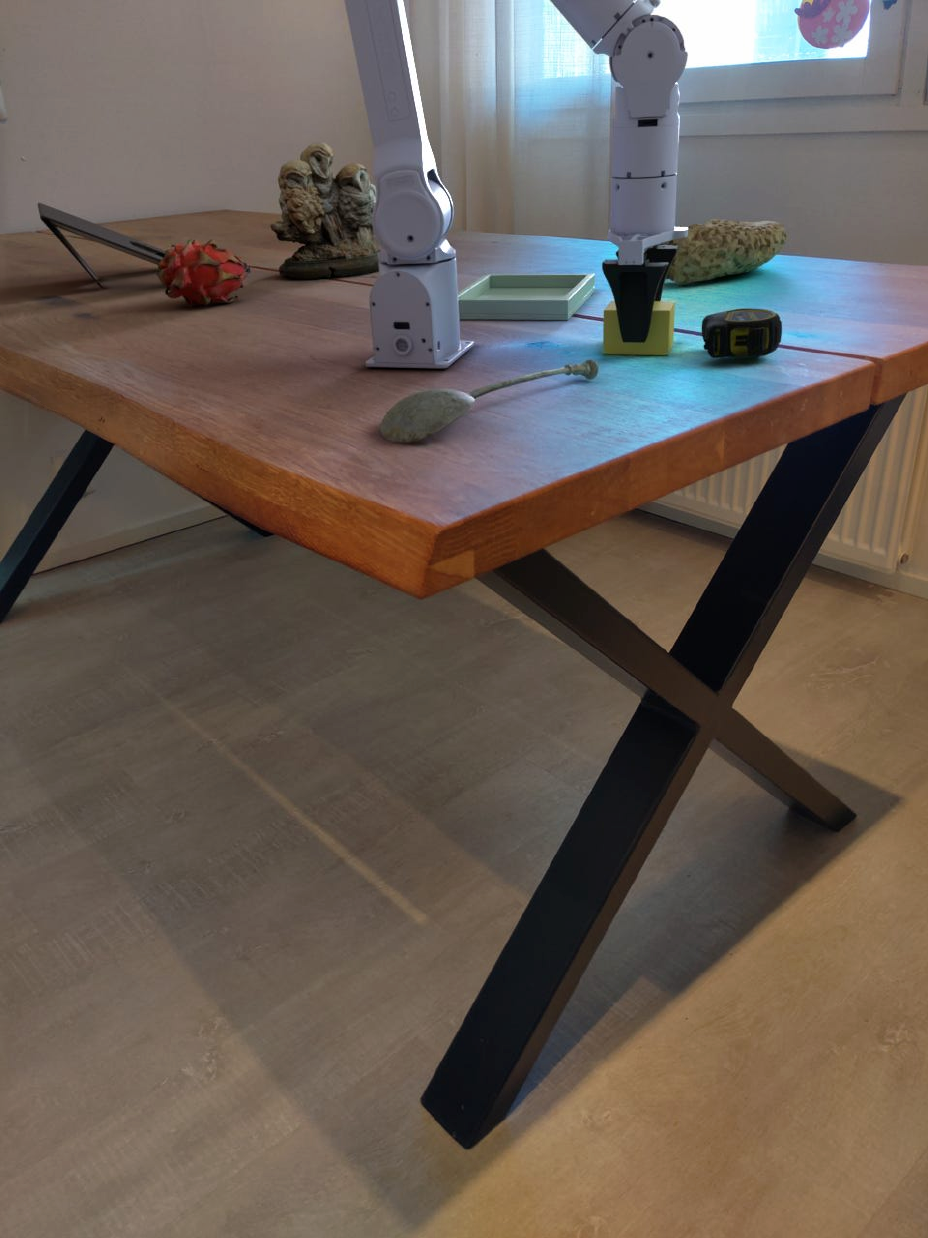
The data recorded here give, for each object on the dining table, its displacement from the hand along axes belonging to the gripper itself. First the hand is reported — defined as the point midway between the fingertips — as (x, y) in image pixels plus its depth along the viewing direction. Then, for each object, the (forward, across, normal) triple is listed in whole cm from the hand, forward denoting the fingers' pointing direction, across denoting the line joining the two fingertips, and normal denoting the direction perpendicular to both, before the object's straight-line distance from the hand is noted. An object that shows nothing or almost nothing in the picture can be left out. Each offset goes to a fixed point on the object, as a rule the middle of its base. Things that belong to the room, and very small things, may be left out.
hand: (638, 334), depth 94 cm
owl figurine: (+2, +45, +50) cm, 67 cm away
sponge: (+2, +41, -5) cm, 41 cm away
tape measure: (+2, -3, -9) cm, 9 cm away
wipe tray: (+1, +21, +16) cm, 26 cm away
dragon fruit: (+2, +21, +57) cm, 61 cm away
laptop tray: (+2, +38, +79) cm, 88 cm away
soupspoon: (+2, -20, +8) cm, 22 cm away
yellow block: (+1, 0, 0) cm, 1 cm away
